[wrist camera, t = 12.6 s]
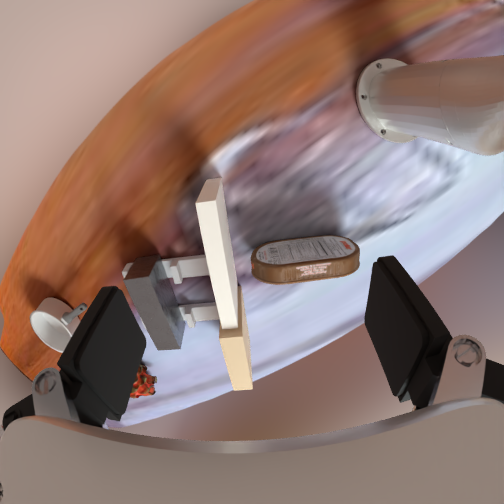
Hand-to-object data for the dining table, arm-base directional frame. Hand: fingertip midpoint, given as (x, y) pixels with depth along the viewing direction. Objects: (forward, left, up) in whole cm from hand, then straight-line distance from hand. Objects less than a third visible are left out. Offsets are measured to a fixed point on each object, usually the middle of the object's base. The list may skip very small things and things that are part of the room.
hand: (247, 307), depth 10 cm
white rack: (+11, +16, -28) cm, 34 cm away
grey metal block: (+15, +18, -27) cm, 36 cm away
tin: (-7, +12, -28) cm, 31 cm away
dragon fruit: (+28, +38, -28) cm, 55 cm away
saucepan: (+37, +21, -28) cm, 51 cm away
